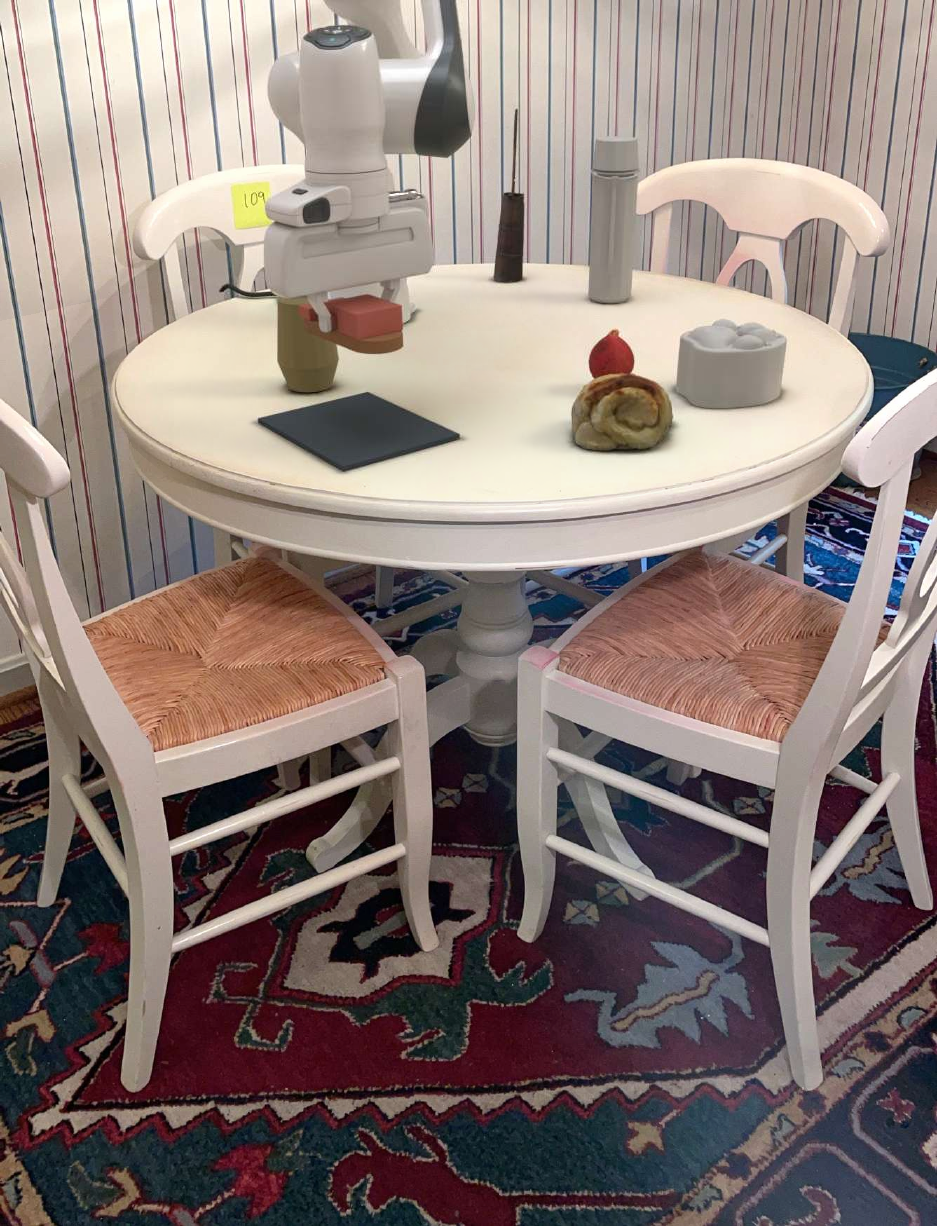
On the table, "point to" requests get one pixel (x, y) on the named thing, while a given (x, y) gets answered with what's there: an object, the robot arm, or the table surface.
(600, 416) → the pastry
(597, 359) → the onion
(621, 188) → the water bottle
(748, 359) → the lumpy-topped squat cylinder
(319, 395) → the table surface
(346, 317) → the slipper
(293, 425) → the mat
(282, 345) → the squeeze bottle
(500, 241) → the butter churn
